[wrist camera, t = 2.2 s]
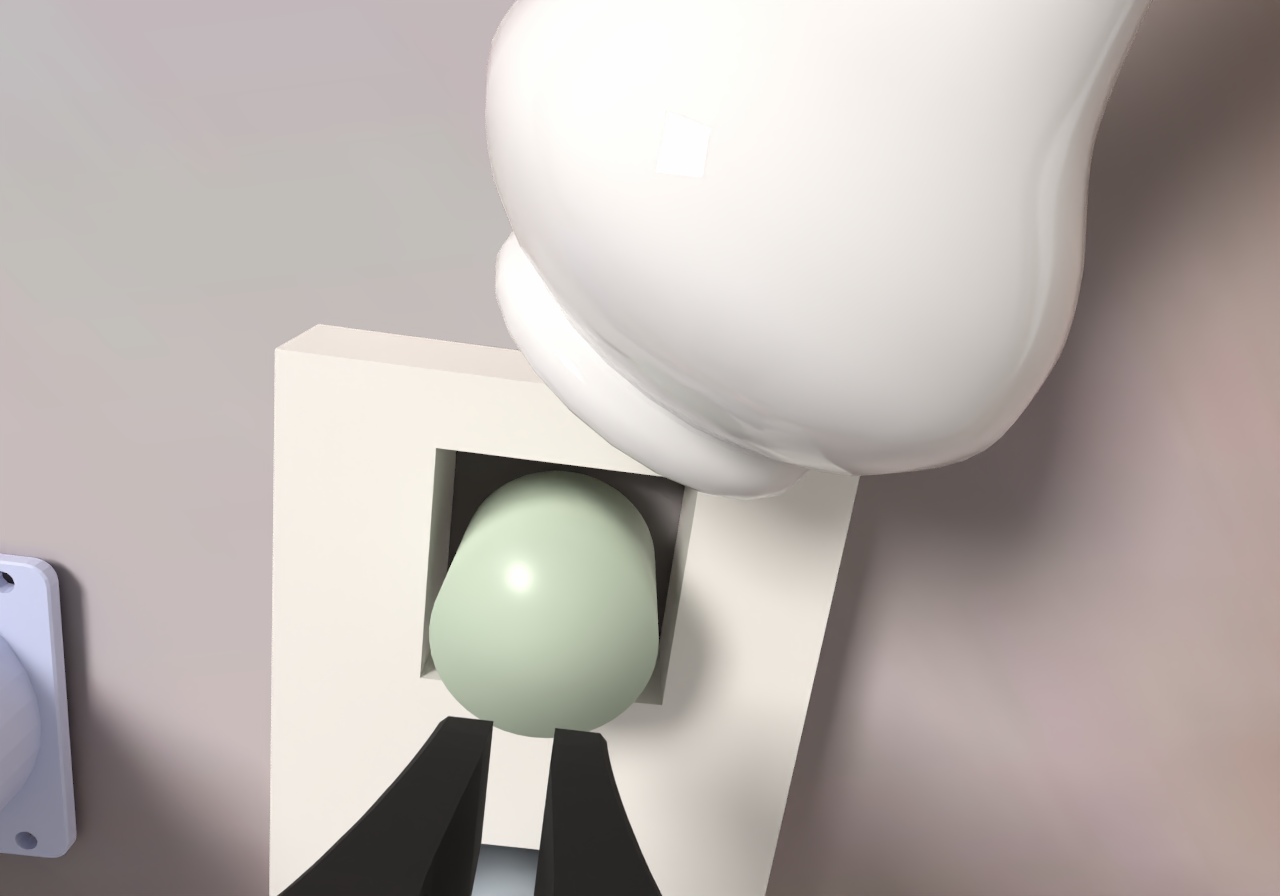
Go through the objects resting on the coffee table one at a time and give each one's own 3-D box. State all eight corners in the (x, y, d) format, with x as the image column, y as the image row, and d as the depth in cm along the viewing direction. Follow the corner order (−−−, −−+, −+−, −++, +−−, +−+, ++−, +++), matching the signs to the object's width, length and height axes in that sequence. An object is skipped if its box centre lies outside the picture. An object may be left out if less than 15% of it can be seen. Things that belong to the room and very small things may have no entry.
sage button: (455, 634, 19) (422, 725, 16) (469, 458, 18) (436, 521, 15) (641, 656, 20) (642, 750, 17) (668, 483, 18) (674, 550, 15)
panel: (296, 1191, 27) (265, 1288, 25) (318, 323, 19) (275, 348, 16) (665, 1222, 27) (668, 1320, 25) (843, 393, 19) (871, 426, 17)
